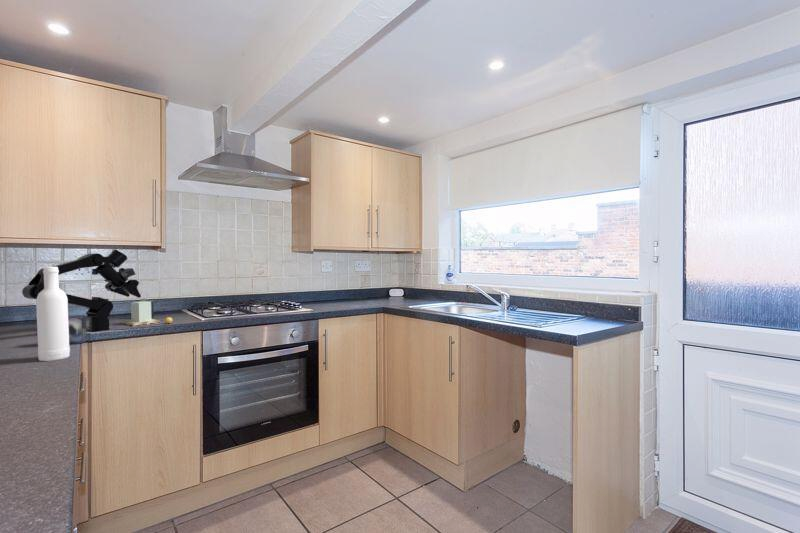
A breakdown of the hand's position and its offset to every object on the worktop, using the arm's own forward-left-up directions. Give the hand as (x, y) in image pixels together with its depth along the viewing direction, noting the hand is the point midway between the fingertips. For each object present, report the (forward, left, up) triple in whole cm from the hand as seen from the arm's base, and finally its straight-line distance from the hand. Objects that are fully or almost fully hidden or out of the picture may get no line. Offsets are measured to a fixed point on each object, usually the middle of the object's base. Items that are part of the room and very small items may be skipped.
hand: (134, 296), depth 199 cm
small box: (-34, -27, -14) cm, 46 cm away
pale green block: (+3, 0, -13) cm, 13 cm away
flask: (+12, +19, -14) cm, 27 cm away
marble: (+10, -13, -14) cm, 21 cm away
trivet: (+3, 0, -14) cm, 14 cm away
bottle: (-45, -52, -14) cm, 70 cm away
